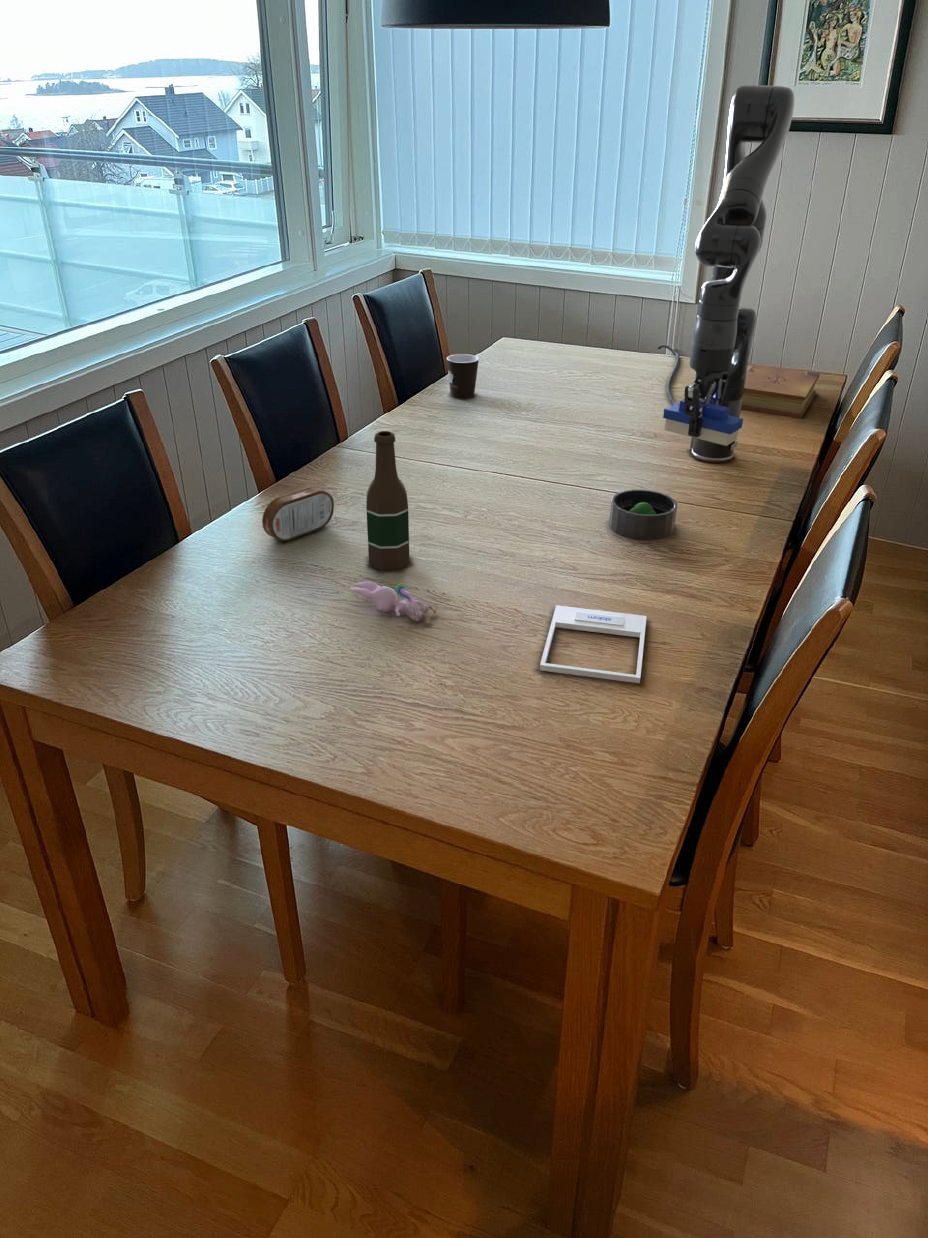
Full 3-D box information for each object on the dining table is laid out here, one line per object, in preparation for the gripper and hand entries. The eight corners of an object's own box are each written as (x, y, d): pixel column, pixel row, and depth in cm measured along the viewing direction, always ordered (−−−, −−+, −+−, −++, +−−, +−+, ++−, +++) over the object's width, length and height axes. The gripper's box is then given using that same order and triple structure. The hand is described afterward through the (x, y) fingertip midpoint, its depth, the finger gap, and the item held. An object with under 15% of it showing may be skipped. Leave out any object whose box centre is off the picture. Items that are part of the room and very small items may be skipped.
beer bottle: (377, 575, 161) (371, 444, 148) (361, 557, 166) (354, 429, 154) (418, 566, 164) (415, 437, 151) (400, 548, 170) (396, 423, 157)
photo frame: (646, 614, 147) (640, 677, 132) (645, 620, 148) (639, 683, 133) (556, 604, 150) (540, 663, 135) (555, 610, 150) (539, 670, 135)
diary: (747, 384, 261) (750, 364, 258) (815, 393, 254) (819, 373, 251) (728, 406, 243) (732, 385, 240) (801, 417, 236) (805, 395, 233)
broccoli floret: (622, 526, 178) (625, 503, 175) (641, 518, 181) (644, 495, 179) (644, 535, 174) (647, 512, 172) (663, 527, 178) (666, 504, 175)
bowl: (597, 520, 181) (599, 494, 178) (651, 511, 185) (654, 485, 182) (630, 546, 171) (633, 519, 168) (686, 536, 175) (690, 509, 172)
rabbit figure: (439, 619, 151) (360, 587, 155) (444, 589, 147) (363, 557, 151) (421, 637, 146) (340, 603, 150) (426, 606, 142) (344, 573, 146)
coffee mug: (478, 400, 246) (478, 362, 241) (446, 399, 246) (446, 362, 241) (478, 387, 256) (478, 351, 251) (447, 386, 256) (447, 350, 251)
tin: (328, 519, 180) (325, 479, 176) (338, 524, 178) (335, 484, 174) (263, 543, 171) (258, 501, 167) (273, 548, 169) (268, 506, 165)
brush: (661, 429, 178) (665, 399, 175) (673, 423, 181) (677, 393, 178) (728, 446, 170) (733, 415, 167) (739, 439, 173) (745, 408, 170)
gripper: (712, 331, 173) (699, 418, 182) (676, 346, 164) (664, 437, 173) (749, 338, 169) (735, 427, 178) (714, 354, 160) (700, 447, 169)
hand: (700, 431), depth 175 cm, fingers closed on brush, 4 cm apart
